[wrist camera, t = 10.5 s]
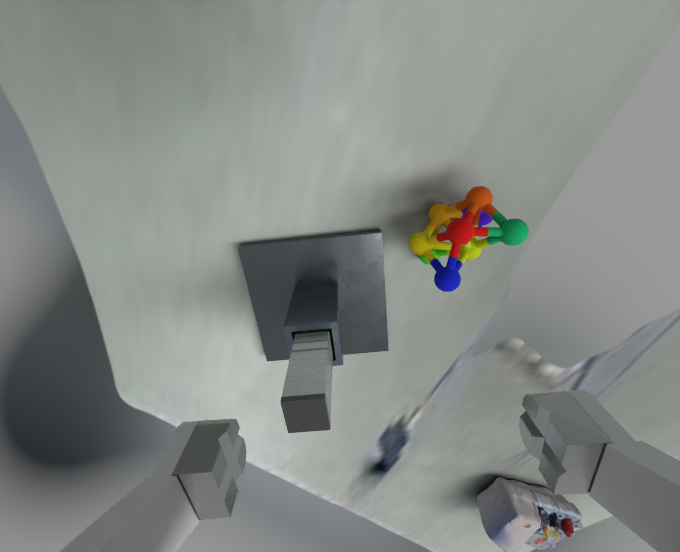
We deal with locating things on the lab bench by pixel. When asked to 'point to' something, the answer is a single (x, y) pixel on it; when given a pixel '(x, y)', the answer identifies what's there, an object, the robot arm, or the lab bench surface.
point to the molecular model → (463, 235)
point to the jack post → (309, 382)
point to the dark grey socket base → (319, 291)
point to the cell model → (525, 515)
